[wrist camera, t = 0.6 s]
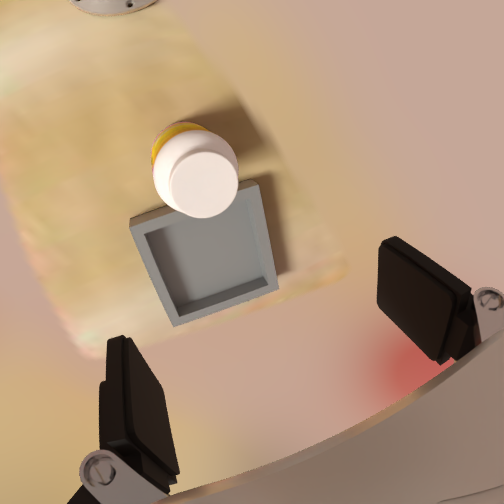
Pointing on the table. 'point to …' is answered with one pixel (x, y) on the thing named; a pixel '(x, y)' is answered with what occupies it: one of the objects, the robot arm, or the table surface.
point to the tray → (207, 256)
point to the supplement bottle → (194, 170)
